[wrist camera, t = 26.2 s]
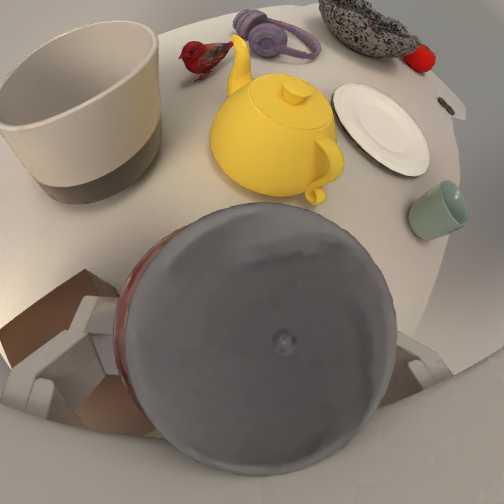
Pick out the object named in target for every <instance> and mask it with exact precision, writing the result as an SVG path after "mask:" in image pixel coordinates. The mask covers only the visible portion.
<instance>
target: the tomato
mask: <svg viewBox="0 0 504 504" xmlns="http://www.w3.org/2000/svg"><path fill="white" fill-rule="evenodd" d="M403 58H404V60H405V61H406V62H407V63H408V64H409V65H410V66H411V67H412V68H413V69H415V70H416V71H419V72H423V73H424V72H427V71H429V70H431V68H432V67H433V66H434V64H435V59H436V58H435V55H434V54H433V52H431V51H430V49H429V48H428V47H426V46H425V45H423V44H420V46H419V47H418V48H417V50H416V51H415V52H413V53H411V54H408V55H404V56H403Z"/></svg>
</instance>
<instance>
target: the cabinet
mask: <svg viewBox="0 0 504 504" xmlns="http://www.w3.org/2000/svg"><path fill="white" fill-rule="evenodd" d="M86 295H87V296H99V297H100V296H101V297H113V298H119V296H118V294H117V292H116V290H115V288H114V287H112V286H111V285H109V284H108V283H106V282H105V281H103V280H101V279H100V278H98V277H97V276H95V275H94V274H92V273H90V272H89V271H88V270H86V269H84V270H83V271H81V272H79V273H78V274H76V275H75V276H73V277H72V278H70V279H69V280H67V281H66V282H64V283H63V284H61V285H60V286H58V287H57V288H56V289H54V290H53V291H51V292H50V293H48V294H47V295H45V296H44V297H43V298H41V299H40V300H38V301H37V302H36V303H34V304H33V305H31V306H30V307H29V308H27V309H26V310H25V311H23V312H22V313H21V314H19V315H18V316H17V317H15V318H14V319H13V320H11V321H10V322H9V323H8V324H6V325H5V326H4V327H2V328H1V329H0V341H1V343H2V346H3V349H4V351H5V353H6V356H7V358H8V361H9V363H10V365H11V367H12V368H13V367H15V366H16V365H17V364H19V363H20V362H21V361H23V360H24V359H25V358H27V357H28V356H29V355H31V354H32V353H33V352H35V351H36V350H37V349H39V348H40V347H41V346H43V345H44V344H46V343H47V342H48V341H50V340H51V339H52V338H54V337H55V336H57V335H58V334H59V333H61V332H62V331H64V330H69V328H70V325H71V323H72V321H73V318H74V316H75V314H76V312H77V310H78V307H79V305H80V303H81V301H82V299H83V297H85V296H86ZM75 414H76V415H77V416H78V418H79V419H80V420H81V422H82V423H83V424H84V425H85V427H86V429H90V430H95V431H101V432H107V433H114V434H122V435H131V436H144V435H146V434H148V433H150V432H152V431H154V430H156V428H155V427H154V426H153V424H152V423H151V422H150V421H149V420H148V419H147V418H146V417H145V416H144V415H143V414H142V413H141V411H140V410H139V409H138V407H137V406H136V404H135V403H134V401H133V400H132V398H131V397H130V395H129V393H128V391H127V390H126V388H125V386H124V385H123V383H122V381H121V377H120V376H117V375H105V377H104V378H103V380H102V381H101V382H100V383H99V384H98V385H97V387H96V388H95V389H94V390H93V391H92V392H91V394H90V395H89V396H88V397H87V398H86V399H85V401H84V402H83V403H82V404H81V405H80V407H79V408H78V409H77V410H76V411H75Z"/></svg>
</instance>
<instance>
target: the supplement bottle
mask: <svg viewBox="0 0 504 504" xmlns="http://www.w3.org/2000/svg"><path fill="white" fill-rule="evenodd" d="M396 343H397V324H396V312H395V309H394V306H393V299H392V296H391V294H390V291H389V288H388V286H387V283H386V280H385V278H384V276H383V274H382V272H381V270H380V269H379V268H378V266H377V265H376V264H375V263H374V261H373V260H372V258H371V256H370V255H369V253H368V252H367V250H366V249H365V248H364V247H363V246H362V245H361V244H360V243H359V242H358V241H357V240H356V238H355V237H353V236H352V235H351V234H350V233H349V232H347V231H346V230H344V229H342V228H340V227H339V226H338V225H337V224H335V223H334V222H332V221H330V220H328V219H326V218H324V217H323V216H321V215H320V214H317V213H315V212H312V211H309V210H307V209H302V208H299V207H296V206H291V205H286V204H280V203H267V202H260V203H248V204H242V205H236V206H231V207H229V208H225V209H222V210H219V211H216V212H213V213H211V214H209V215H206V216H203V217H202V218H200V219H199V220H197V221H195V222H193V223H191V224H189V225H187V226H184V227H182V228H181V229H178V230H176V231H174V232H173V233H171V234H170V235H168V236H166V237H164V238H163V239H162V240H161V241H160V242H159V243H157V244H156V245H155V246H154V247H152V248H151V249H150V250H149V251H148V252H147V253H146V254H145V255H144V257H143V258H142V259H141V260H140V261H139V262H138V264H137V265H136V266H135V268H134V269H133V270H132V272H131V274H130V275H129V277H128V279H127V281H126V282H125V284H124V286H123V289H122V291H121V294H120V297H119V300H118V303H117V308H116V313H115V316H114V325H113V348H114V354H115V361H116V367H117V369H118V371H119V374H120V377H121V381H122V383H123V385H124V386H125V388H126V390H127V391H128V393H129V395H130V397H131V398H132V400H133V401H134V403H135V404H136V406H137V407H138V409H139V410H140V411H141V413H142V414H143V415H144V416H145V417H146V418H147V419H148V420H149V421H150V422H151V423H152V424H153V426H154V427H155V428H156V429H157V430H158V431H159V432H160V434H161V435H162V436H163V437H164V438H165V439H166V440H167V441H168V442H169V443H170V444H171V445H173V446H174V447H175V448H176V449H177V450H179V451H180V452H182V453H183V454H185V455H186V456H188V457H190V458H191V459H193V460H195V461H196V462H198V463H201V464H204V465H206V466H209V467H211V468H214V469H217V470H220V471H225V472H229V473H232V474H234V475H240V476H261V477H266V476H272V475H282V474H288V473H291V472H294V471H298V470H301V469H304V468H307V467H309V466H311V465H314V464H316V463H318V462H320V461H322V460H324V459H325V458H327V457H329V456H331V455H332V454H333V453H335V452H336V451H337V450H340V449H343V448H344V447H345V446H346V445H347V444H348V443H349V442H350V441H351V439H353V438H354V437H355V436H356V435H357V434H358V433H359V432H360V431H361V430H362V429H363V428H364V427H365V426H366V424H367V423H368V422H369V421H370V419H371V418H372V417H373V416H374V414H375V412H376V410H377V408H378V406H379V404H380V402H381V400H382V398H383V396H384V395H385V393H386V391H387V389H388V386H389V382H390V379H391V375H392V372H393V369H394V365H395V360H396V350H397V344H396Z"/></svg>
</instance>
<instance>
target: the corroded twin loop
mask: <svg viewBox="0 0 504 504" xmlns="http://www.w3.org/2000/svg"><path fill="white" fill-rule="evenodd" d="M438 100H439V102H440V103H441V105H442V106H443V107H445V108H446V109H447V110H448V112H449V113H451V114H455V112H454V110H453V109H452V108H451V107H450V106H449V105H448V104H447V103H446V102H445V100H444V99H442V98H441V97H439V99H438Z"/></svg>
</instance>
